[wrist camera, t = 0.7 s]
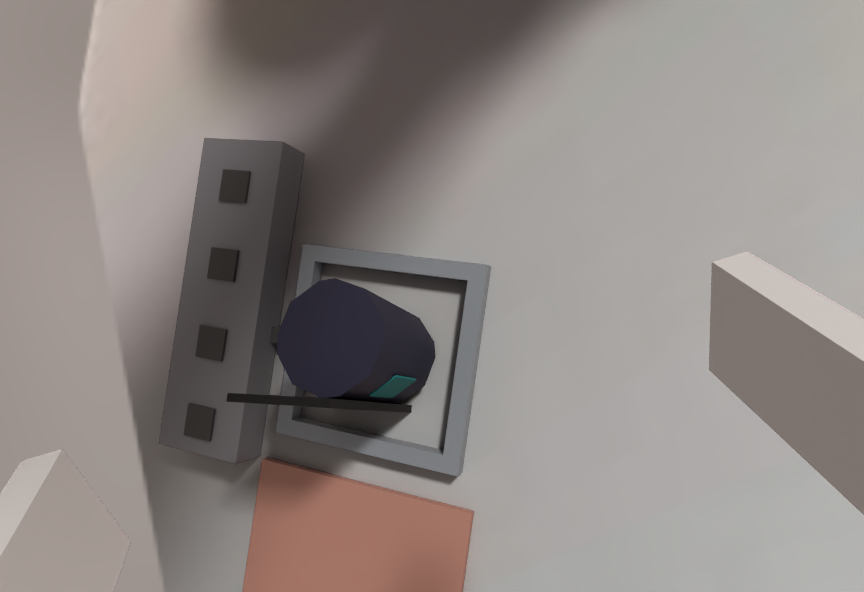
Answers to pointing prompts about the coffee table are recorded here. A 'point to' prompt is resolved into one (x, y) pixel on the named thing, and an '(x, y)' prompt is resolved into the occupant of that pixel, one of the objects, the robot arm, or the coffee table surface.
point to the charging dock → (278, 315)
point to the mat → (351, 536)
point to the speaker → (349, 350)
